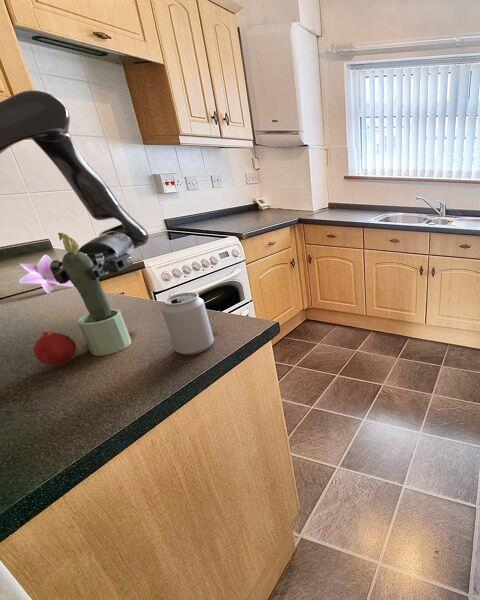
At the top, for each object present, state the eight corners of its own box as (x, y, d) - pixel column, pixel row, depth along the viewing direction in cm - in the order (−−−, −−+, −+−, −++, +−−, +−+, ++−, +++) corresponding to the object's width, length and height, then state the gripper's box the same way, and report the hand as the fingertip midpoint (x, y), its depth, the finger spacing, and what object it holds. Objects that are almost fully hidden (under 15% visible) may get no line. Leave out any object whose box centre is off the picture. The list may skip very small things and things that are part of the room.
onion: (39, 367, 67) (20, 332, 64) (76, 354, 71) (61, 320, 68) (48, 377, 64) (29, 341, 61) (86, 362, 68) (70, 328, 65)
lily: (18, 302, 99) (19, 276, 95) (15, 278, 104) (16, 252, 100) (74, 301, 108) (78, 277, 104) (69, 279, 114) (72, 256, 110)
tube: (85, 358, 70) (71, 326, 66) (97, 342, 75) (84, 312, 72) (126, 351, 72) (114, 320, 69) (135, 336, 78) (124, 307, 75)
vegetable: (121, 323, 73) (84, 231, 64) (97, 332, 69) (56, 236, 61) (109, 319, 74) (72, 229, 66) (86, 327, 71) (43, 234, 63)
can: (173, 346, 74) (156, 296, 69) (210, 335, 78) (197, 287, 73) (179, 361, 68) (161, 308, 64) (218, 348, 73) (205, 297, 68)
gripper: (59, 241, 75) (17, 263, 60) (136, 234, 80) (114, 253, 66) (73, 273, 78) (36, 301, 64) (146, 264, 83) (127, 289, 69)
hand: (76, 276), depth 65 cm, fingers closed on vegetable, 4 cm apart
